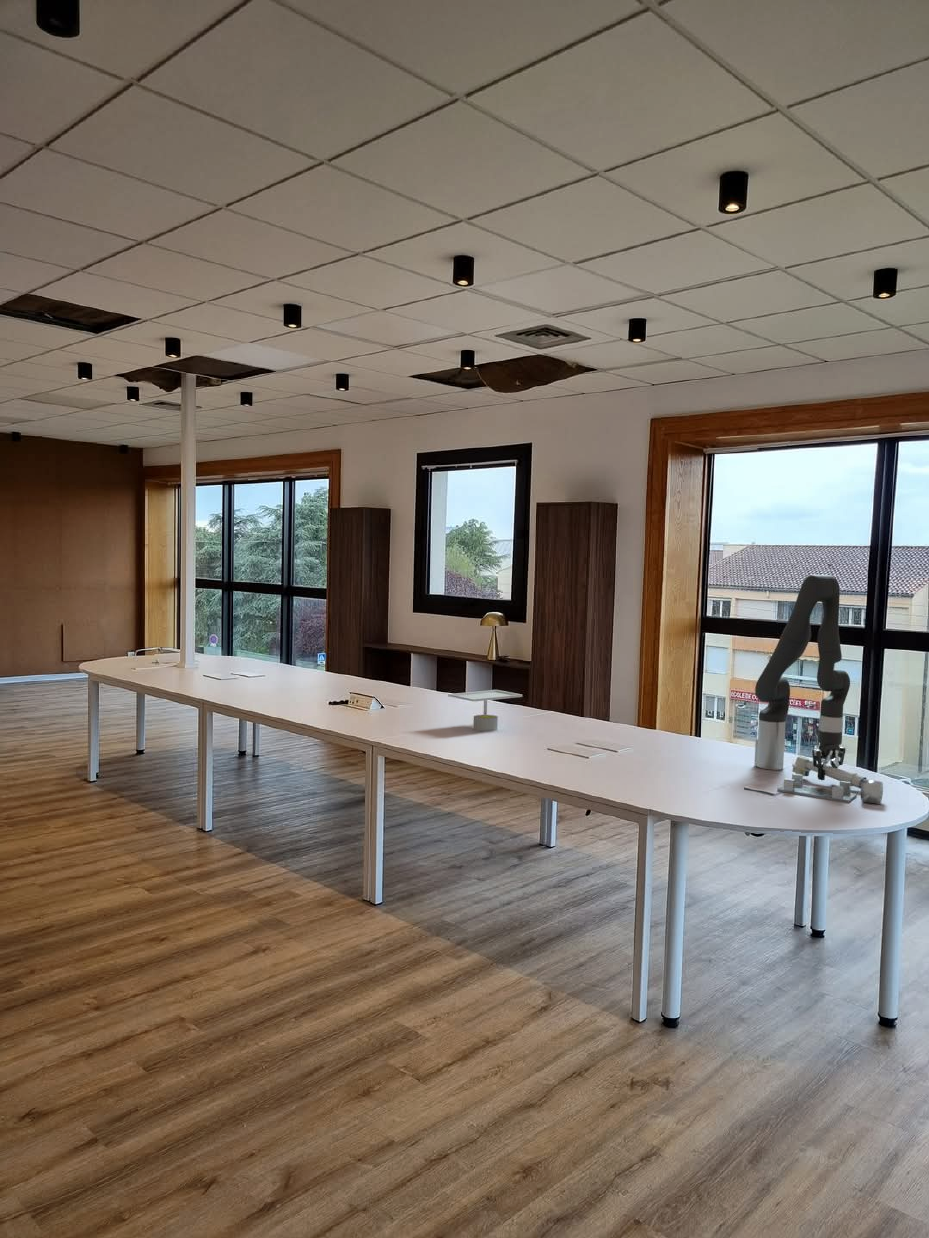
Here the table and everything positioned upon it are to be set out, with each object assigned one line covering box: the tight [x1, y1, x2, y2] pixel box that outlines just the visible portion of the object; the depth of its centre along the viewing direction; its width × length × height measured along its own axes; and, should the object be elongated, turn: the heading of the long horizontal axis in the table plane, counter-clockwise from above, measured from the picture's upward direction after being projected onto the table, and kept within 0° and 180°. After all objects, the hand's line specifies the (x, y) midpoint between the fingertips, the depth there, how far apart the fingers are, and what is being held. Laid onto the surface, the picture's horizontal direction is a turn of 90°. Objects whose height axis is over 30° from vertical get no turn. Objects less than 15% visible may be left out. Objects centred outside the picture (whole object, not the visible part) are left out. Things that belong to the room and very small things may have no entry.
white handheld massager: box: [791, 755, 868, 790], centre depth 309 cm, size 5×7×25 cm
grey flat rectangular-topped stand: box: [447, 689, 523, 732], centre depth 395 cm, size 28×17×15 cm, turn 129°
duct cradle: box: [776, 773, 884, 805], centre depth 293 cm, size 30×10×7 cm, turn 54°
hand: (827, 778), depth 309 cm, fingers closed on white handheld massager, 5 cm apart
